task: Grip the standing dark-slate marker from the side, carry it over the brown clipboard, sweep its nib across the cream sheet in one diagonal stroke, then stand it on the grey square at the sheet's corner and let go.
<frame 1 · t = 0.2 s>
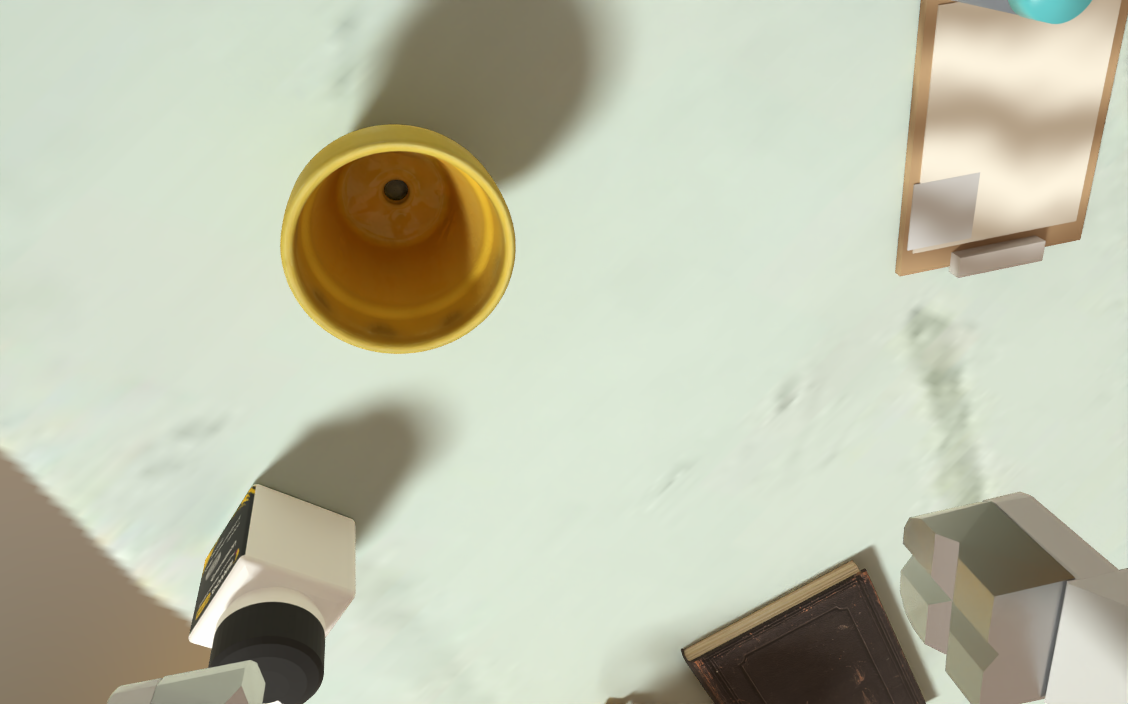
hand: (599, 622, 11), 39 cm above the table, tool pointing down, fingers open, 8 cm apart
hardcover book: (806, 672, 76), on the table
clipboard: (1004, 127, 53), on the table
medicine bottle: (281, 536, 57), on the table
plant pot: (393, 185, 47), on the table
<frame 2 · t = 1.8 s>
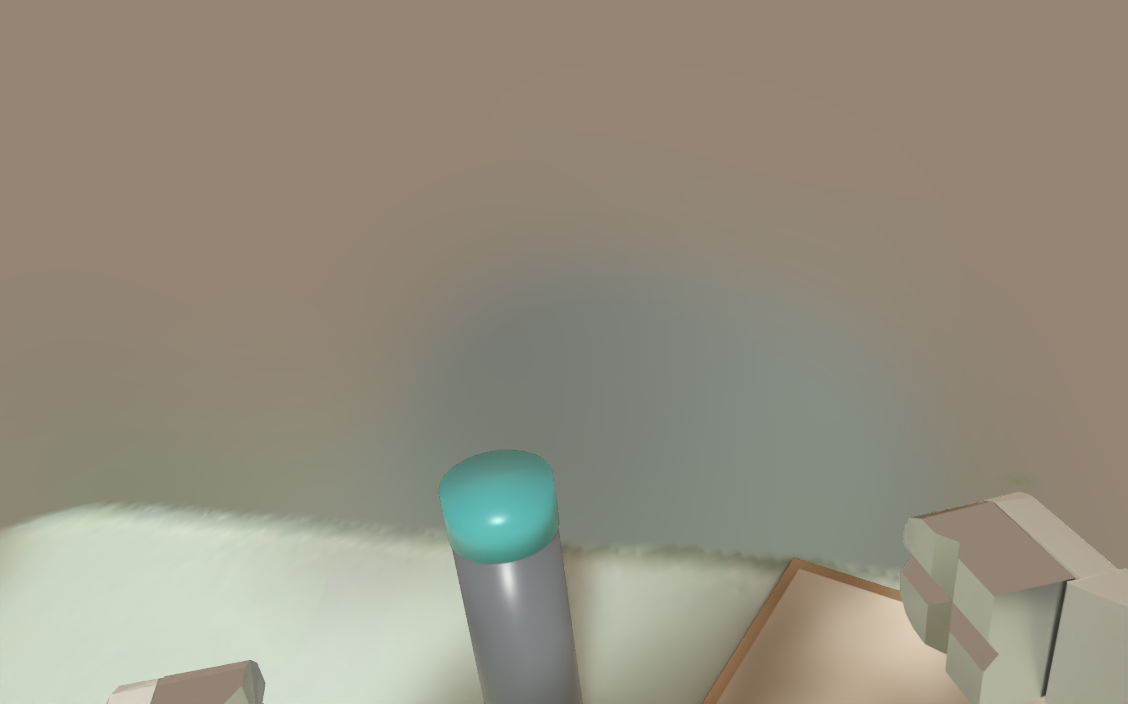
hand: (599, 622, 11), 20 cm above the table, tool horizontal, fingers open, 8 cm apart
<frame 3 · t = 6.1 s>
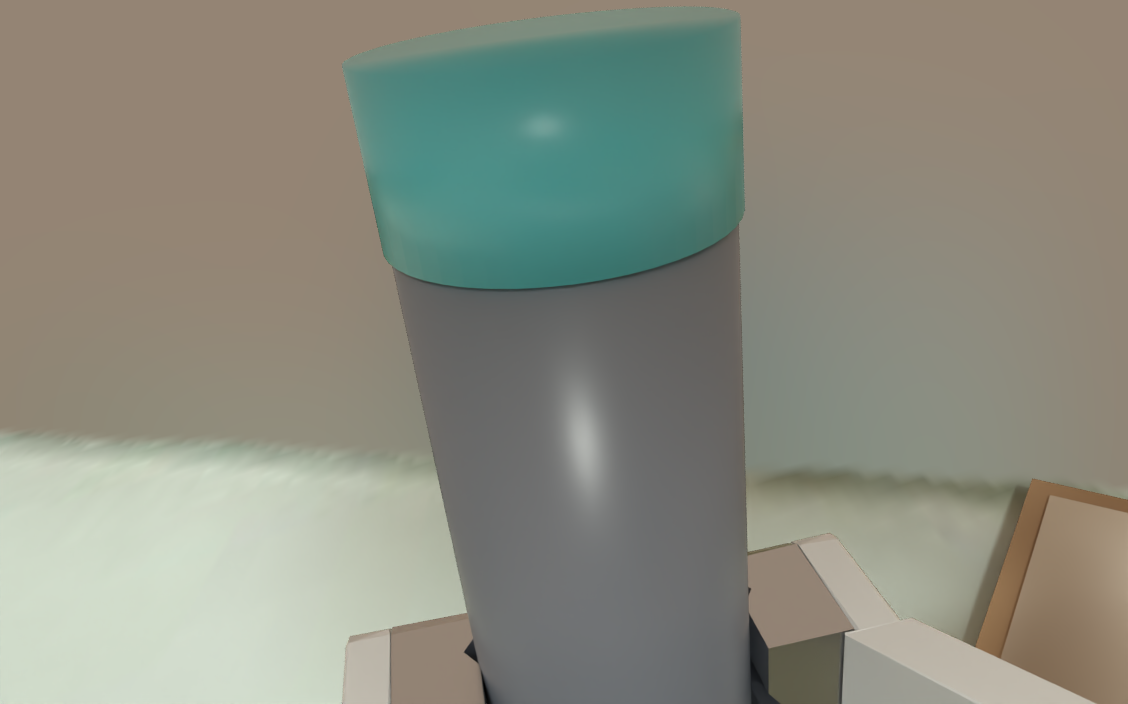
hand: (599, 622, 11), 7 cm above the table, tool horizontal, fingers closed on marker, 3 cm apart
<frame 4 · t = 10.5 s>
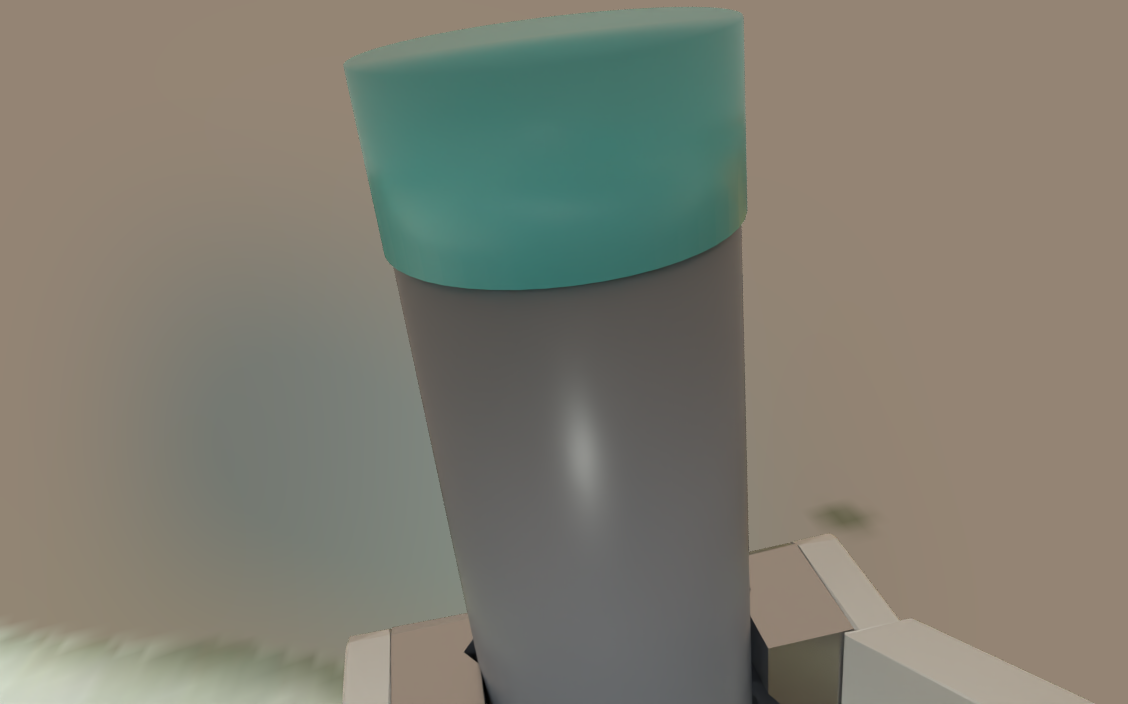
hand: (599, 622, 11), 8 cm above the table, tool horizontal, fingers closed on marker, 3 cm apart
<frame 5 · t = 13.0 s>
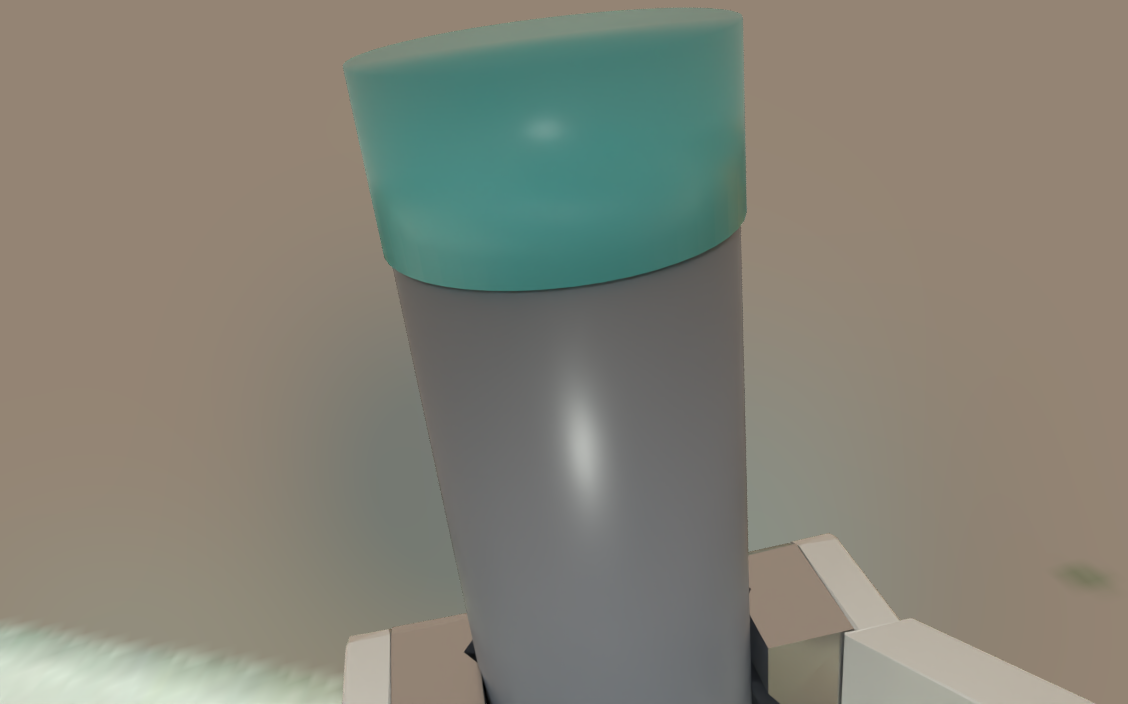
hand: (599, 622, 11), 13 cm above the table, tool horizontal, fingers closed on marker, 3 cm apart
when the fingers open (9 cm above the table, at t = 15.2 s): marker drops 1 cm, resting on clipboard.
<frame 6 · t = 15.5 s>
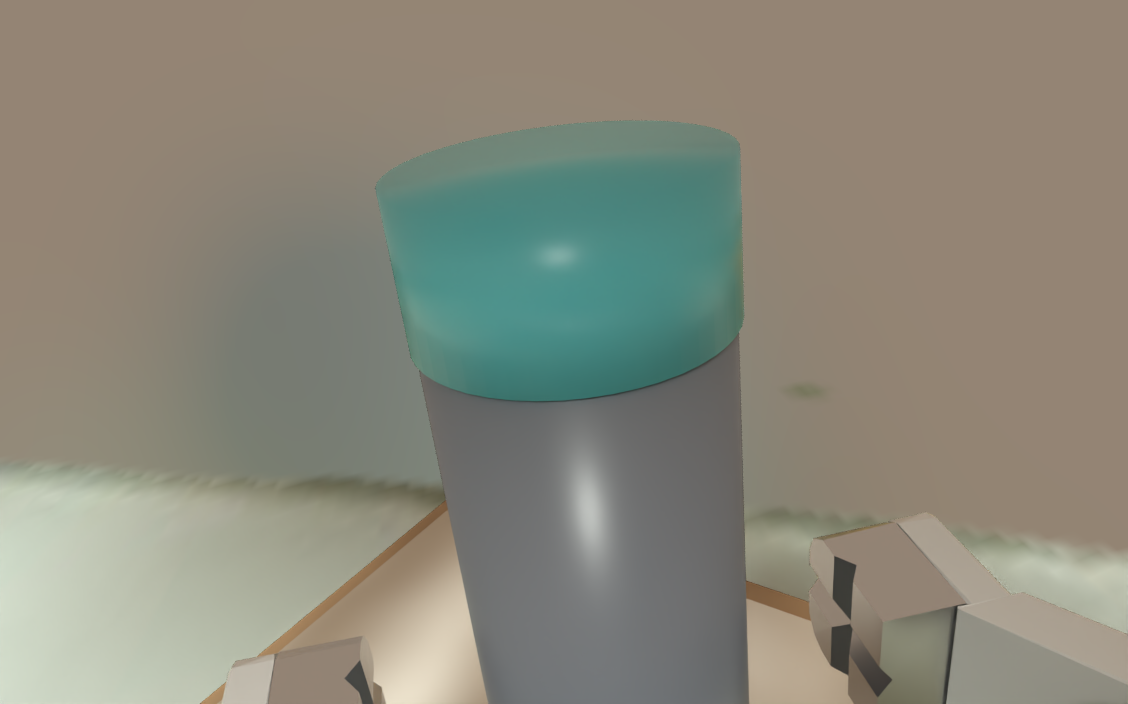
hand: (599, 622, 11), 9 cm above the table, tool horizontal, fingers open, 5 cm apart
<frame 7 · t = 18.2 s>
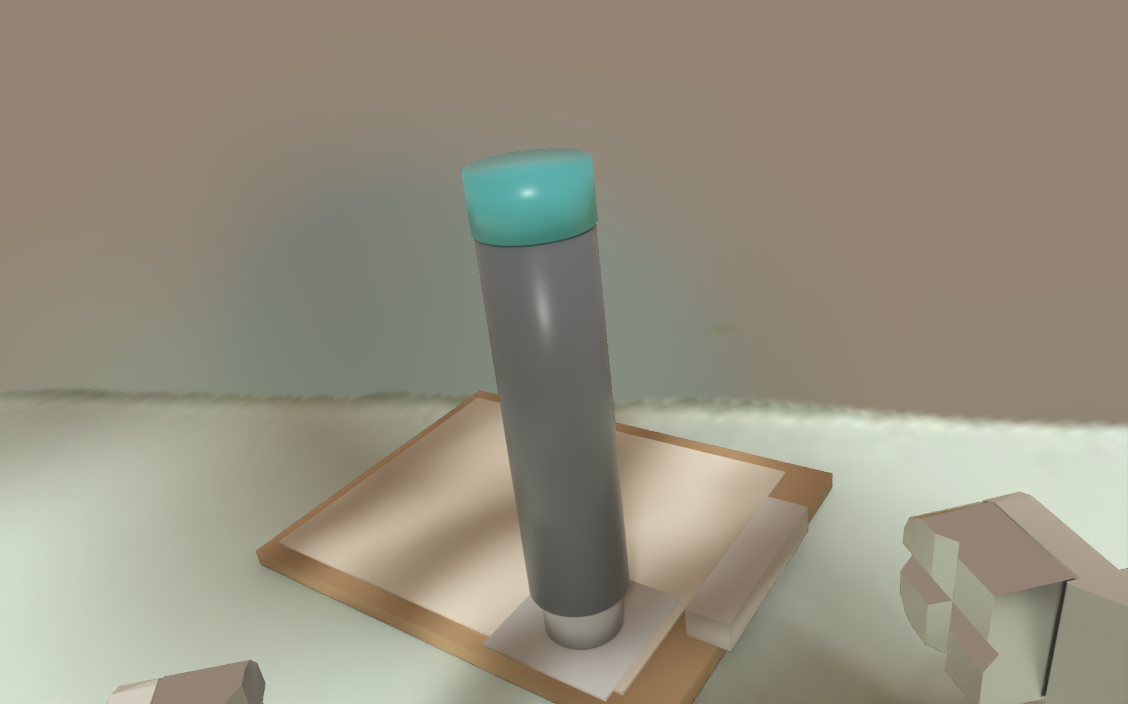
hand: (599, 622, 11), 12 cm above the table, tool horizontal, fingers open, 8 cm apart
marker: (584, 620, 26), point 1 cm above the table, touching clipboard
clipboard: (544, 525, 32), on the table
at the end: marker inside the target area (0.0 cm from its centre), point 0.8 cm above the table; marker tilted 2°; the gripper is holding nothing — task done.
